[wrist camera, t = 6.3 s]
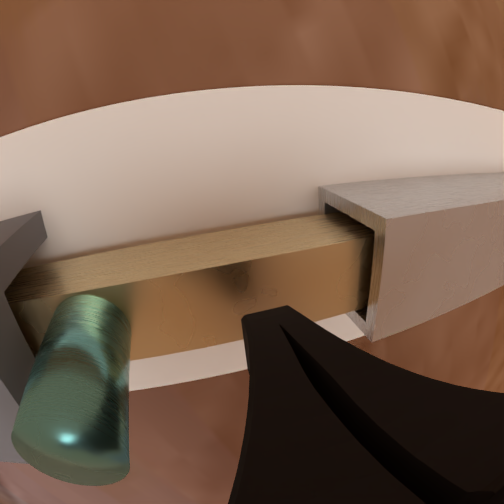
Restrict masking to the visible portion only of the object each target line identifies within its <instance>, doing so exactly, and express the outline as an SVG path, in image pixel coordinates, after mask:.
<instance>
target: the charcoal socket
mask: <svg viewBox="0 0 504 504" xmlns="http://www.w3.org/2000/svg"><path fill="white" fill-rule="evenodd" d="M46 238H47V233H46V229H45V226H44V222H43V218H42V214H41V210H40V211H36V212H32V213H28V214H25V215H21V216H17V217H14V218H10V219H7V220H3V221H0V461H3V462H13V463H25V464H29V463H27V462H26V461H25V460H24V459H23V458H22V457H21V456H20V455H19V454H18V452H17V451H16V450H15V448H14V446H13V444H12V440H11V434H12V430H13V426H14V423H15V419H16V416H17V412H18V409H19V405H20V402H21V399H22V396H23V393H24V390H25V387H26V384H27V381H28V378H29V375H30V372H31V369H32V366H33V364H34V361H35V357H34V355H33V354H32V352H31V350H30V348H29V346H28V344H27V342H26V340H25V338H24V336H23V334H22V332H21V330H20V328H19V326H18V324H17V321H16V319H15V317H14V315H13V313H12V310H11V308H10V306H9V303H8V301H7V299H6V296H5V294H4V291H5V290H6V289H7V287H8V286H9V285H10V283H11V282H12V281H13V279H14V278H15V277H16V275H17V274H18V273H19V271H20V270H21V269H22V268H23V266H24V265H25V264H26V263H27V261H28V260H29V259H30V258H31V256H32V255H33V254H34V253H35V252H36V250H37V249H38V248H39V247H40V246H41V244H42V243H43V242H44V241H45V240H46Z"/></svg>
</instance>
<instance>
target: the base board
mask: <svg viewBox="0 0 504 504" xmlns="http://www.w3.org/2000/svg"><path fill="white" fill-rule="evenodd" d="M502 172H504V111H502V110H498V109H494V108H490V107H486V106H481V105H477V104H473V103H468V102H463V101H458V100H453V99H448V98H442V97H436V96H430V95H424V94H417V93H409V92H402V91H393V90H384V89H373V88H360V87H344V86H317V85H278V86H251V87H235V88H222V89H211V90H201V91H192V92H184V93H177V94H169V95H163V96H156V97H150V98H144V99H139V100H133V101H128V102H123V103H118V104H113V105H109V106H104V107H100V108H95V109H91V110H87V111H83V112H79V113H75V114H72V115H68V116H64V117H61V118H57V119H54V120H50V121H47V122H44V123H41V124H37V125H34V126H31V127H28V128H25V129H22V130H19V131H16V132H14V133H11V134H8V135H5V136H3V137H0V221H3V220H7V219H10V218H14V217H17V216H21V215H25V214H28V213H32V212H36V211H40V210H41V214H42V218H43V222H44V226H45V229H46V233H47V238H46V240H45V241H44V242H43V243H42V244H41V246H40V247H39V248H38V249H37V250H36V252H35V253H34V254H33V255H32V256H31V258H30V259H29V260H28V261H27V263H26V264H25V265H24V266H23V268H22V269H25V268H29V267H34V266H39V265H44V264H48V263H53V262H58V261H63V260H68V259H73V258H78V257H83V256H88V255H93V254H98V253H103V252H108V251H113V250H118V249H124V248H129V247H134V246H140V245H145V244H150V243H156V242H161V241H167V240H172V239H178V238H183V237H189V236H195V235H200V234H206V233H212V232H217V231H223V230H229V229H235V228H241V227H247V226H253V225H259V224H265V223H271V222H278V221H284V220H290V219H296V218H303V217H309V216H316V215H319V195H318V186H322V185H331V184H341V183H350V182H360V181H371V180H382V179H394V178H407V177H420V176H435V175H453V174H473V173H502ZM315 323H316V324H318V325H319V326H321V327H323V328H324V329H326V330H327V331H329V332H331V333H332V334H334V335H336V336H337V337H339V338H341V339H342V340H344V341H349V340H352V339H355V338H358V337H361V336H364V335H365V334H364V333H363V332H362V331H361V330H360V329H359V328H358V327H357V326H356V325H355V323H354V322H353V321H352V320H351V319H350V318H349V317H348V316H347V315H346V314H341V315H338V316H334V317H331V318H327V319H323V320H320V321H316V322H315ZM245 369H248V368H247V361H246V354H245V346H244V339H243V340H239V341H234V342H230V343H225V344H220V345H215V346H210V347H206V348H201V349H195V350H190V351H185V352H180V353H174V354H169V355H163V356H157V357H151V358H145V359H139V360H132V361H130V371H129V391H133V390H140V389H147V388H153V387H160V386H166V385H172V384H177V383H183V382H188V381H194V380H199V379H204V378H209V377H214V376H218V375H223V374H228V373H232V372H237V371H241V370H245Z"/></svg>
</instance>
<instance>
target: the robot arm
mask: <svg viewBox="0 0 504 504" xmlns="http://www.w3.org/2000/svg"><path fill="white" fill-rule="evenodd" d="M241 324H242V331H243V339H244V346H245V354H246V361H247V368H248V371H249V375H250V381H249V400H248V411H247V419H246V426H245V433H244V439H243V444H242V450H241V455H240V460H239V464H238V469H237V473H236V477H235V480H234V484H233V488H232V491H231V495H230V499H229V502H228V504H504V393H498V392H490V391H484V390H477V389H471V388H467V387H462V386H457V385H453V384H449V383H446V382H442V381H438V380H435V379H431V378H428V377H425V376H422V375H419V374H416V373H413V372H410V371H408V370H405V369H403V368H400V367H398V366H395V365H392V364H390V363H388V362H386V361H383V360H381V359H379V358H377V357H375V356H373V355H371V354H369V353H367V352H365V351H363V350H361V349H359V348H357V347H355V346H353V345H351V344H350V343H348V342H346V341H344V340H342V339H341V338H339V337H337V336H336V335H334V334H332V333H331V332H329V331H327V330H326V329H324V328H323V327H321V326H319V325H318V324H316V323H315V322H313V321H312V320H310V319H308V318H307V317H305V316H304V315H302V314H301V313H299V312H298V311H296V310H295V309H293V308H292V307H290V306H289V305H285V306H281V307H277V308H273V309H268V310H264V311H260V312H255V313H251V314H246V315H244V316H243V317H242V319H241Z"/></svg>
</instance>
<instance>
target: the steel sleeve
mask: <svg viewBox="0 0 504 504" xmlns="http://www.w3.org/2000/svg"><path fill="white" fill-rule="evenodd" d="M318 195H319V215H322V214H329V213H336V212H343V213H345V214H347V215H349V216H350V217H352V218H354V219H356V220H357V221H359V222H361V223H363V224H364V225H366V226H368V227H370V228H371V229H373V230H375V238H374V251H373V263H372V273H371V283H370V292H369V300H368V307H365V308H362V309H358V310H355V311H352V312H348V313H345V314H346V315H347V316H348V317H349V318H350V319H351V320H352V321H353V322H354V323H355V325H356V326H357V327H358V328H359V329H360V330H361V331H362V332H363V333H364V334H365V336H366V337H367V338H368V339H369V340H370V341H371V342H374V341H377V340H380V339H382V338H385V337H388V336H390V335H393V334H396V333H398V332H401V331H403V330H406V329H408V328H411V327H413V326H416V325H418V324H421V323H423V322H426V321H428V320H430V319H433V318H435V317H437V316H440V315H442V314H444V313H447V312H449V311H451V310H453V309H455V308H458V307H460V306H462V305H464V304H466V303H468V302H471V301H473V300H475V299H477V298H479V297H481V296H483V295H485V294H487V293H489V292H491V291H493V290H495V289H497V288H499V287H501V286H503V285H504V172H502V173H473V174H453V175H435V176H420V177H407V178H394V179H382V180H371V181H360V182H350V183H341V184H331V185H322V186H318Z"/></svg>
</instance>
